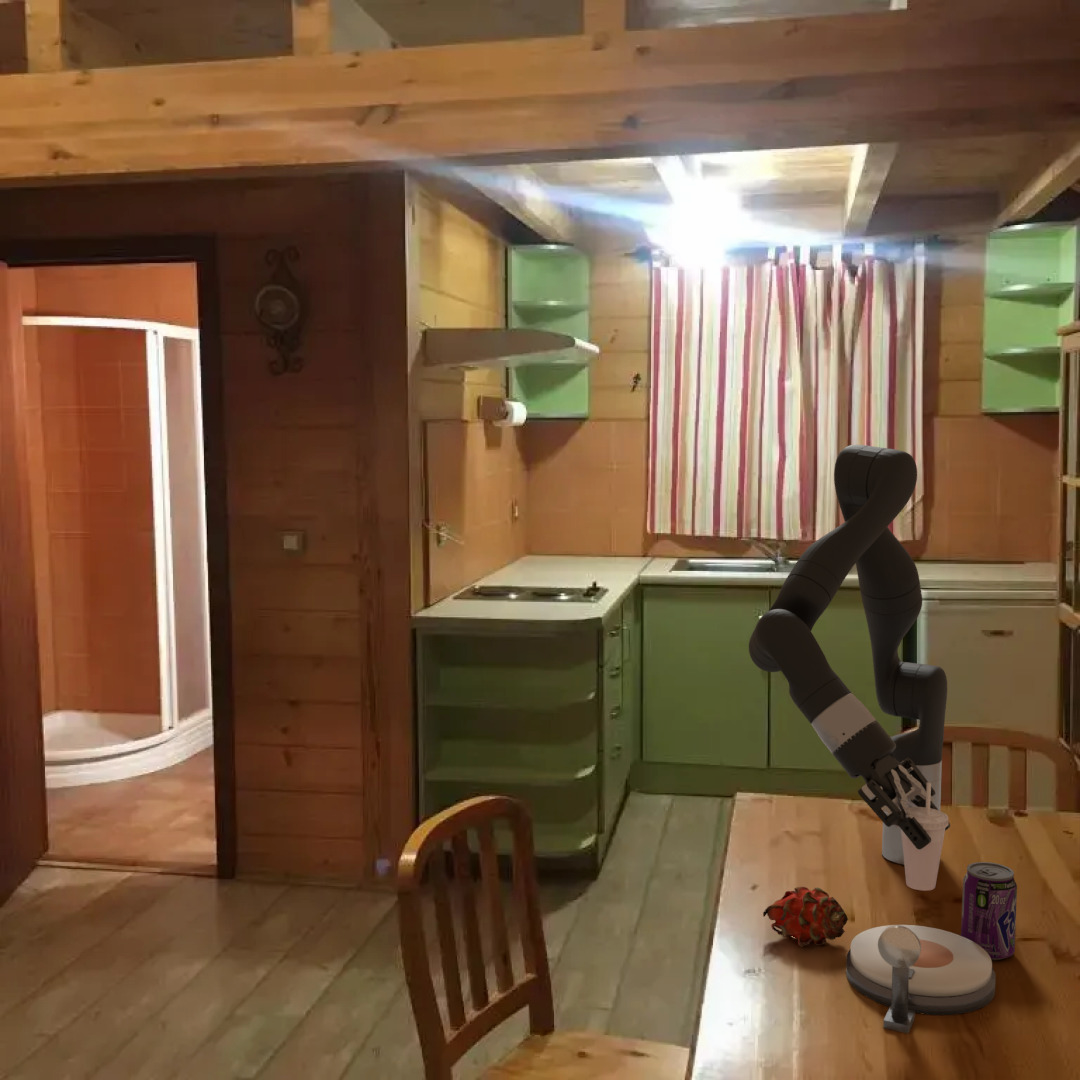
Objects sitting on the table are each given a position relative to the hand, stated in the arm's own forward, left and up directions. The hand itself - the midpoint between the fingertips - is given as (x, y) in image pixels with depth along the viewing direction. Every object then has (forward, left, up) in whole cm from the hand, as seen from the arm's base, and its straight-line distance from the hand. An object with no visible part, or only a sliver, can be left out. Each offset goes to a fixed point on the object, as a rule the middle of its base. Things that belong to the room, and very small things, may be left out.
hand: (935, 837), depth 162 cm
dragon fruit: (-5, -18, -20) cm, 28 cm away
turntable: (0, -2, -18) cm, 18 cm away
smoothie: (0, -2, -7) cm, 7 cm away
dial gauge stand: (+13, -2, -20) cm, 24 cm away
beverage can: (-13, +5, -20) cm, 25 cm away
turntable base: (0, -2, -20) cm, 20 cm away
